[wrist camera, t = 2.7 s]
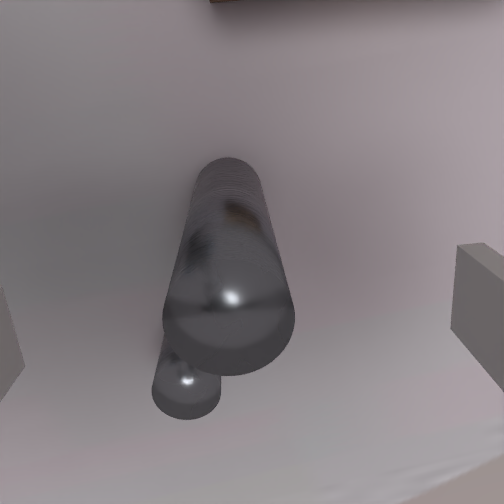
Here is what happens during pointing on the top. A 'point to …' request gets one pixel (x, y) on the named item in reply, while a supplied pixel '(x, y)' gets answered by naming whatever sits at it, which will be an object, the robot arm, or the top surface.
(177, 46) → the top surface
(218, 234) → the long pin
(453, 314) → the robot arm
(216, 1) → the socket block
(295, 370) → the top surface
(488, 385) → the top surface
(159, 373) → the short pin
